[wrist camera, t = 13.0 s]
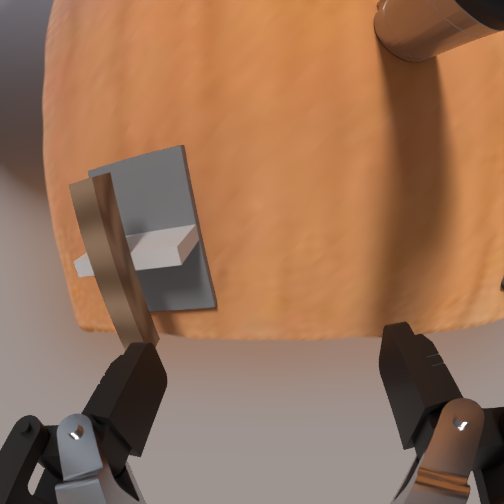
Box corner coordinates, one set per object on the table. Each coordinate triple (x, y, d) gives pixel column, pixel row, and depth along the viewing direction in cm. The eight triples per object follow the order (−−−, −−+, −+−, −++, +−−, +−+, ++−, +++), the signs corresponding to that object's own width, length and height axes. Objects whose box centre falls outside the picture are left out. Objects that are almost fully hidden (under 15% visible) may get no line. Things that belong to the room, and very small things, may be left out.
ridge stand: (93, 169, 35) (51, 181, 27) (183, 145, 34) (155, 147, 25) (133, 307, 43) (107, 343, 34) (217, 301, 42) (203, 342, 33)
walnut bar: (88, 179, 26) (68, 184, 23) (110, 172, 26) (91, 177, 23) (138, 339, 33) (128, 356, 30) (159, 338, 33) (150, 357, 30)
